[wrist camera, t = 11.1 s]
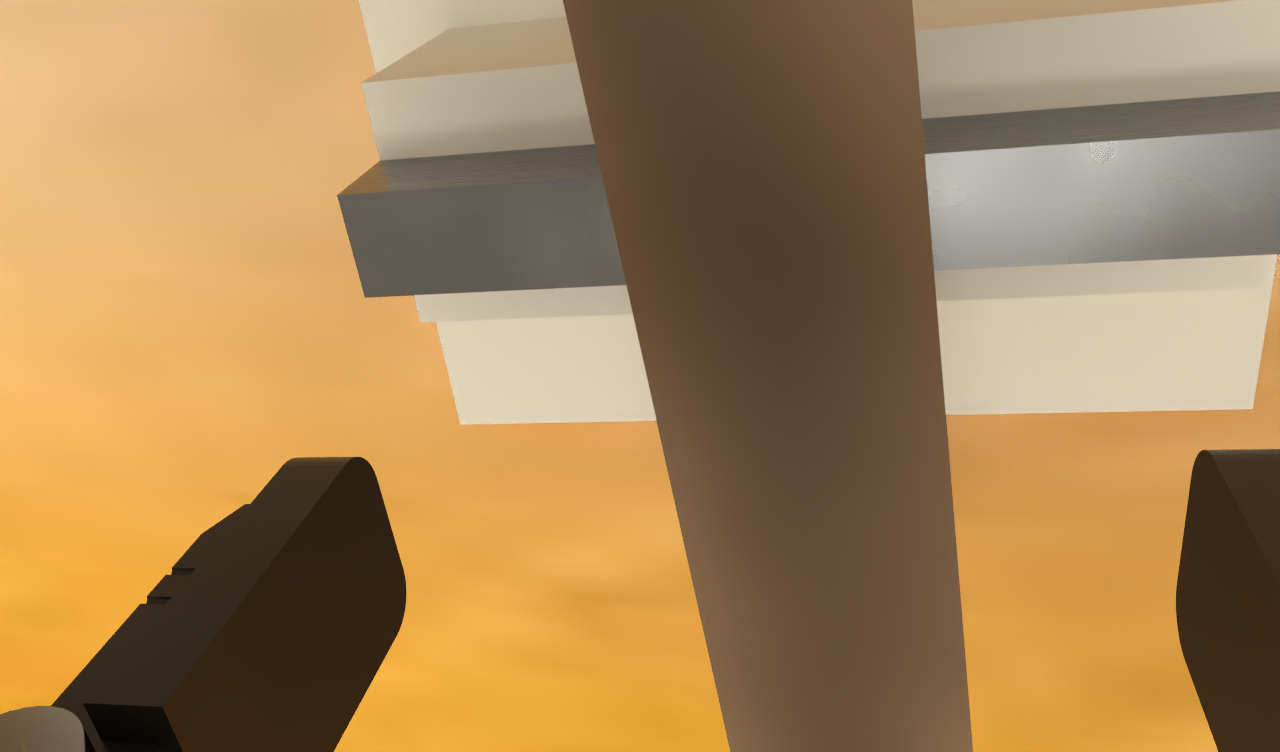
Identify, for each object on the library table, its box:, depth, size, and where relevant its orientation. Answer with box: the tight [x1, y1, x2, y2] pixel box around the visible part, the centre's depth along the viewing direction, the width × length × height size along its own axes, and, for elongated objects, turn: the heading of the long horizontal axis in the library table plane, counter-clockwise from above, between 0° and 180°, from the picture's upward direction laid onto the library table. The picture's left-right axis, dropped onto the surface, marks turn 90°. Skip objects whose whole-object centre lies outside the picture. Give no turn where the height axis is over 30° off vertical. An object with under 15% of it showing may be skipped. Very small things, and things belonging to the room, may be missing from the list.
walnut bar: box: [563, 0, 973, 752], centre depth 16 cm, size 4×22×4 cm, turn 11°
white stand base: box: [337, 0, 1280, 424], centre depth 21 cm, size 20×16×8 cm
